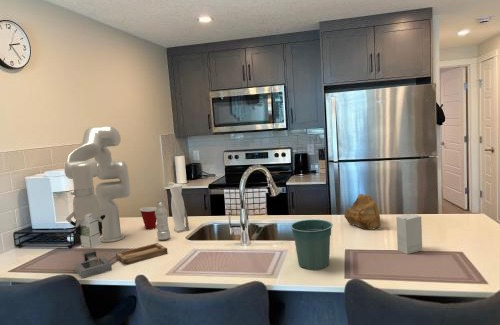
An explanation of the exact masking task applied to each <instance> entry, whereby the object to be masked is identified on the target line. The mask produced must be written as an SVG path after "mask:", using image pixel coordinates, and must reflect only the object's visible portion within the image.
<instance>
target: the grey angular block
mask: <svg viewBox="0 0 500 325" xmlns="http://www.w3.org/2000/svg"><path fill="white" fill-rule="evenodd" d="M82 256H83V257H82V258H83V262H84V261H89V263H90V267H94V266H97V265H99V262H98V260H99V258H97V256H98V255H97V251H96V250H95V249H92V250H89V251H88V250H87V251H84V252H82Z"/></svg>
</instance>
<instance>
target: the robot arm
mask: <svg viewBox="0 0 500 325" xmlns="http://www.w3.org/2000/svg"><path fill="white" fill-rule="evenodd" d="M121 141H122V140H121V134H120V132H119V131H118V130H117V129H116V128H115V127H114V126H111V125H102V126H91V127H88V128H87V129H85V130H84V134H83V138H82V141H81V145H80V146H79V147H76V148H75V149H74V150H72V151H71V152H70V153H69V155H68V156H67V158H66V162H65V164H64V175H65V177H67V178H68V179H69V180H72V181H73V190H72V191H70V195H71V196H73V200H72V201H73V202H72V208H73V210H72V212H71V213H70V214H69V215H68V216H67V217H65V220H66V221H67V222H68V223H69V224H70V225H71V226H74V228H75V229H74V230H75V234H76V235H77V236H78V237H80V236H81V232H80V227H79V224H80V222H81V221H84V220H85V215H87V214H90V213H92V217H93V219H95V218H97V219H98V224H99V233H101V234H102V237H101V236H100V242H101V243H112V242H113V243H114V242H118V241H121V240H123V239H124V238H125V234H123V233H122V230H121V228H122V227H121V220H120V219H121V218H120V212H119V210H120V209H119V206H118V204H117V202H116V201H114V200H115V199H123V198H128V197H130V194H131V184H130V178H129V169H128V166H127V164H126V161H123V160H113V158H112V152H111V150H110V149H109V148H110V147H118V146H119V145H120V143H121ZM93 158H94V159H93ZM92 159H93V160H92ZM96 177H97V179H98V180H101V181H102V180H108V181H104V182H100V183H98V184H96V187H94V186H95V185H94V179H93V178H96ZM109 180H113V181H109ZM73 218H74V220H75V221H74V220H72V219H73Z"/></svg>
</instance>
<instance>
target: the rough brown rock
mask: <svg viewBox="0 0 500 325" xmlns="http://www.w3.org/2000/svg"><path fill="white" fill-rule="evenodd" d="M379 212H380V211H379V208H378V205H377V203H376V202H375V201H374V200H373V198H372V196H371V195H370V194H361V193H360V194H358V196H357V197H356V199H355V200H354V202H353V204H351V206H349V207H348V208H347V209H346V211H345V213H344V216H343V217H344V218H345V220H346V221H347V223H348V224H350V225H355V226H357V227H358V228H361V229H362V230H366V229H368V230H374V229H378V228H380V227H381V214H380V213H379Z"/></svg>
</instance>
